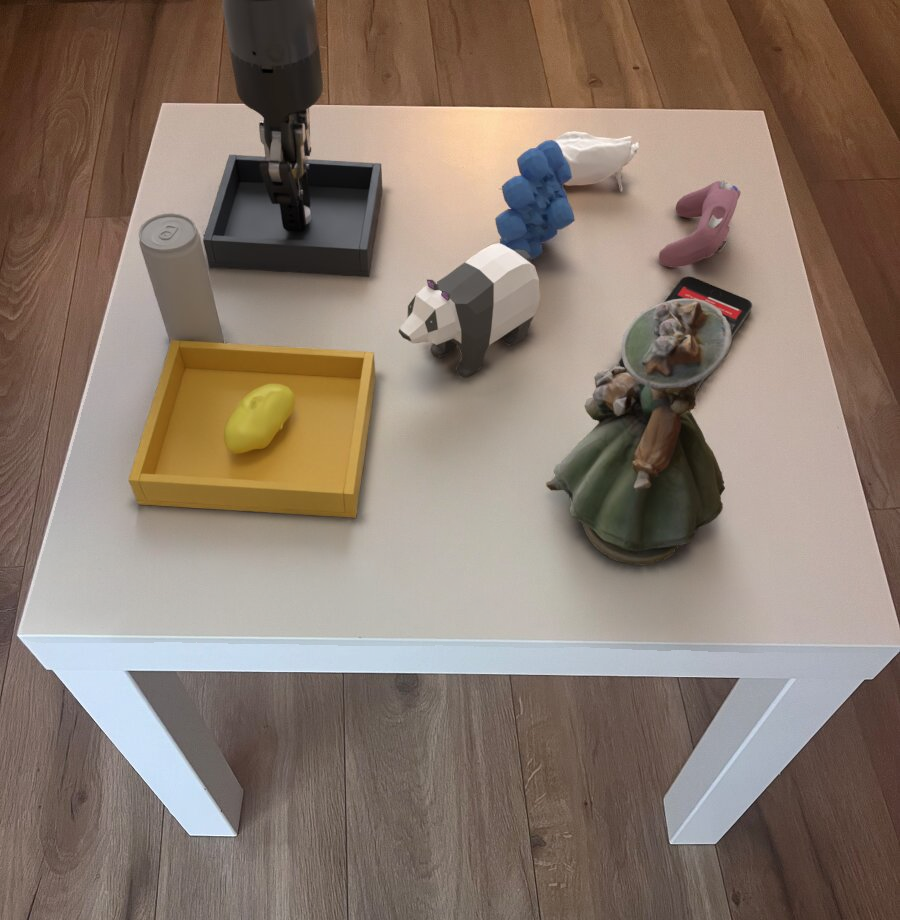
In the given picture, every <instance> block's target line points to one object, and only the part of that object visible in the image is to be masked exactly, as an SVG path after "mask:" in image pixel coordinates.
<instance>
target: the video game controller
mask: <svg viewBox="0 0 900 920" xmlns="http://www.w3.org/2000/svg"><path fill="white" fill-rule="evenodd" d="M740 197H741V190H739V188H738V187H737V186H736V185H733V184H732V183H731V182H725V179H724V178H722V180H717V181H716V180H715V181H714V182H712V183H710V184H708V185H707V186H705V187H702V188H701V189H697V190H694V191H691V192H689V193H687V194H685V195H683V196H682V197H681V198H680V199H679V200H678V201H677V202H676V205H675V211H676V213H677V215H678V216H680V217H683V218H689V219H690V218H692V219H693V218H700V220H699V221H698V224H697V225H696V226H695V227H696V228H695V230H694V232H692V233H690V234H689V235H688V236H686V237H683V238H681V239H678V240H676V241H674V242H671V243H669V244H667V245H666V246H664V247H663V248H662V249H661V250H660V252H659V254H658V261H659V262H660V264H661V265H662V266H664V267H669V268H682V267H687V266H690V265H692V264H695V263H697V262H699V261H701V260H703V259H708V258H710V257H711V256H713V255H714V254H715V253H716V252H717V253H719V252H721V251H724V249H725V248H726V245H727V240H726V239H727V237H728V235H729V233H730V226H729V224H730V223H731V221H732V218H733V216H734V213H735V210H736V208H737V205H738V201H739V199H740Z"/></svg>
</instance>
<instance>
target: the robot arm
mask: <svg viewBox="0 0 900 920" xmlns="http://www.w3.org/2000/svg"><path fill="white" fill-rule="evenodd" d="M222 12H223V19H224V24H225V32H226V37H227V42H228V49H229V54H230V59H231V65H232V71H233V77H234V82H235V88H236V93H237V96H238V98H239V100H240V101H241V102H242V104H244V105H245V106H246V108H248V109H250V110H252V111H255V112H256V113H257V114H259V115H260V116H261V117H262V118H263V120H259V122H258V123H259V124H258V131H259V139H260V142H261V144H262V145H263V149H264V157H265V159H266V160H261V162H260V165H259V169H260V172H261V175H262V178H263V181H264V183H265V186H266V189H267V191H268V194H269V197H270V200H271V202H272V204H280V210H281V217H282V224H283V228H284V229H285V230H287V231H299V232H302V231H304V230H305V227H306V219H305V210H304V205H305V206H307V207H308V208H309V209H310V195H309V186H308V177H307V174H308V170H309V164H308V159H309V158H308V157H310V156H311V153H312V146H311V144H312V143H311V120H310V118H311V117H310V108H311V107H313V106H314V105H315V104H316V103H317V102H319V99H320V98H321V96H322V94H323V89H324V83H323V82H324V81H323V74H322V62H321V61H322V60H321V51H320V41H319V40H320V39H319V29H318V17H317V8H316V3H315V0H222ZM305 173H307V174H305Z"/></svg>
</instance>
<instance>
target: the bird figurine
mask: <svg viewBox="0 0 900 920" xmlns="http://www.w3.org/2000/svg"><path fill="white" fill-rule="evenodd" d="M632 140H633V137H632V136H631V135H627V136H625V137H619V138H613V137H605V136H603V137H598V136H595V135H592V134H590V133H588V132H584V131H577V130H572V131H567V132H565V133H563V134H560V135H559V136H558V137H557V138H556V139H555V140H554V141H555V142H557V143H558V145H559V146H560V148H561V150H562V153H563V157H565V158H566V160H567V162H568V163H569V165H570V169H571V174H572V178H571V179H570V180H569V181H567V182H566V183H564V184H563V185H564V186H589V185H596V184H599V183H601V182H602V181H604V180H606V179H608V178H610V177H611V176H612V175H614V176H615V178H616V181H617V185H618V189H619V192H620V193H622V192H623V185H622V181H621V180H622V179H621V178H622V171H623V167H625V166H626V165H628V164H629V163H630V162H631V161H632V160H633V158H634V156H635V155H636V154H637V151H638V150H639V148H640V140H639V141H636V142H635V143H633V141H632Z"/></svg>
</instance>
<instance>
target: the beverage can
mask: <svg viewBox="0 0 900 920" xmlns="http://www.w3.org/2000/svg"><path fill="white" fill-rule="evenodd" d="M138 238H139V241H138V244H139V247H140V251H141V253H142V258H143V260H144V264H145V266H146V267H145V268H146V270H147V273H148V276H149V279H150V283H151V286H152V289H153V292H154V293H153V294H154V297H155V299H156V302H157V305H158V309H159V312H160V315H161V319H162V322H163V326H164V328H165V331H166V335H167V338H168V341H169V345H170V344H171V341H172V340H180V341H197V342H214V343H224V333H223V329H222V325H221V321H220V316H219V312H218V309H217V304H216V300H215V295H214V291H213V288H212V282H211V278H210V274H209V269H208V265H207V258H206V254H205V250H204V245H203V241H202V238H201V236H200V232H199V230H198V229H197V226H196V224H195V222H194V220H192V219H191V218H189V217H188V216H187V215H183V214H181V213H161V214H157V215H155V216H151V217H150V218H148V219H147V220H145V221H144V222H143V223H142V224H141V225H140V228H139V229H138Z"/></svg>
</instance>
